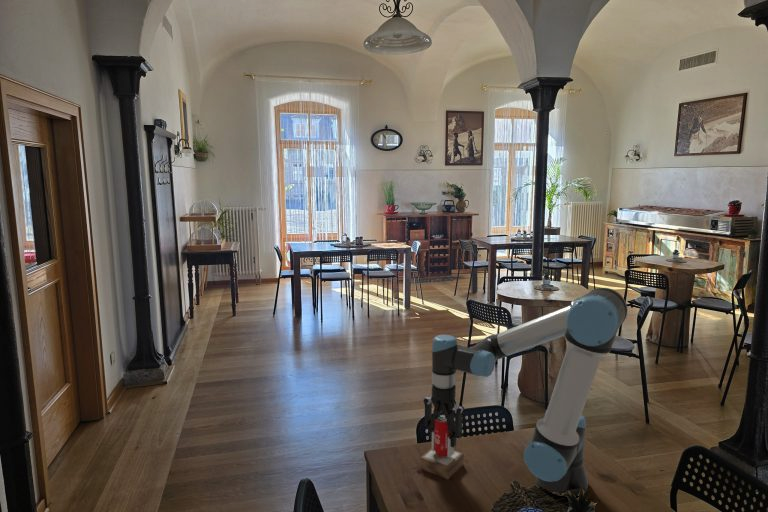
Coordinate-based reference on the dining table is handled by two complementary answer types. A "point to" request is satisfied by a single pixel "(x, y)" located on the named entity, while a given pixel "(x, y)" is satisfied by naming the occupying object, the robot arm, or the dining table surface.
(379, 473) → the dining table surface
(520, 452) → the dining table surface
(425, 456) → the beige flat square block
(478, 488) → the dining table surface
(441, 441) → the beverage can
